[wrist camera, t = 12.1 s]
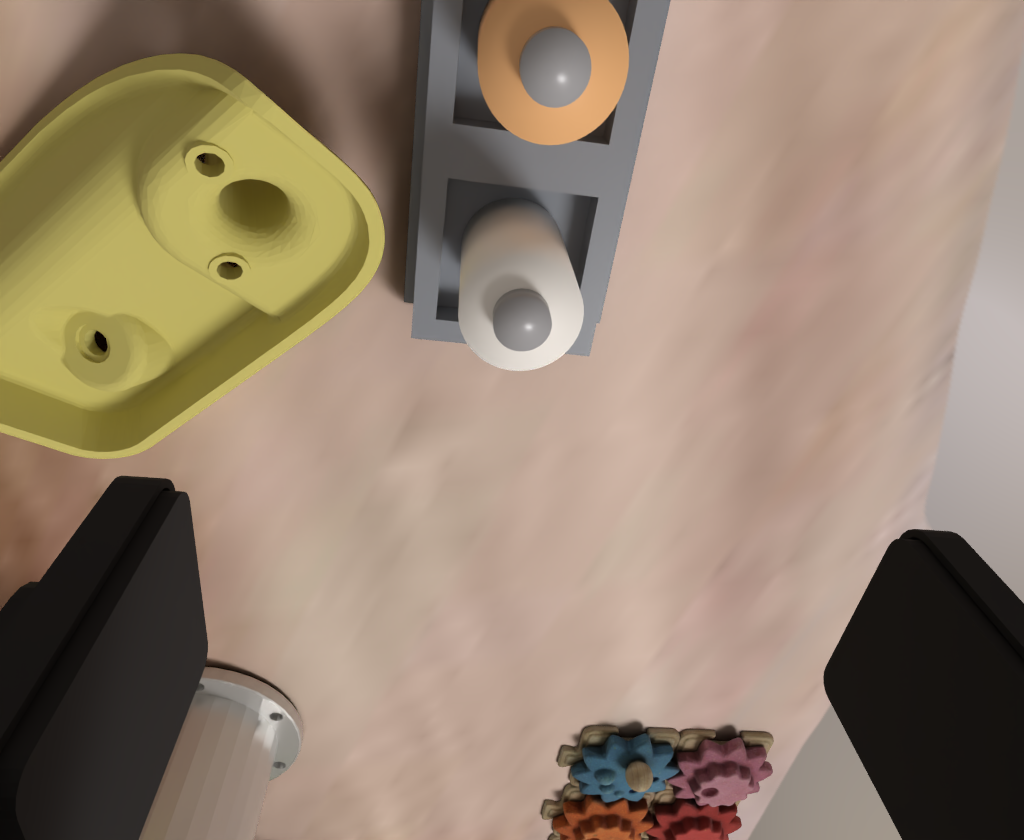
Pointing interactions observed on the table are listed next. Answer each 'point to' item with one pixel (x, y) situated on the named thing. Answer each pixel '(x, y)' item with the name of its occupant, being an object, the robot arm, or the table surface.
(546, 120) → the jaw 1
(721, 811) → the gear puzzle
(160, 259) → the plastic component
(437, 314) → the housing
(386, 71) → the table surface
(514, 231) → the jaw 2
